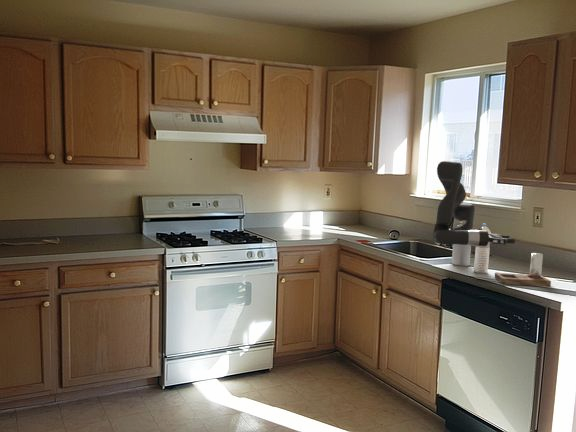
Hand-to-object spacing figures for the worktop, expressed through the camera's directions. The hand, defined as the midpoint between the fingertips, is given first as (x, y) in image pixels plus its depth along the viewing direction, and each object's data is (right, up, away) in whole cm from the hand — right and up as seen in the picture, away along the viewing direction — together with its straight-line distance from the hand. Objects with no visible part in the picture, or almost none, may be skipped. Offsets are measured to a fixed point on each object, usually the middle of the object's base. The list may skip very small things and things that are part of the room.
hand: (511, 239), depth 261 cm
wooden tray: (+6, -20, +2) cm, 21 cm away
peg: (+11, -21, +1) cm, 24 cm away
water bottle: (-8, -18, +20) cm, 28 cm away
